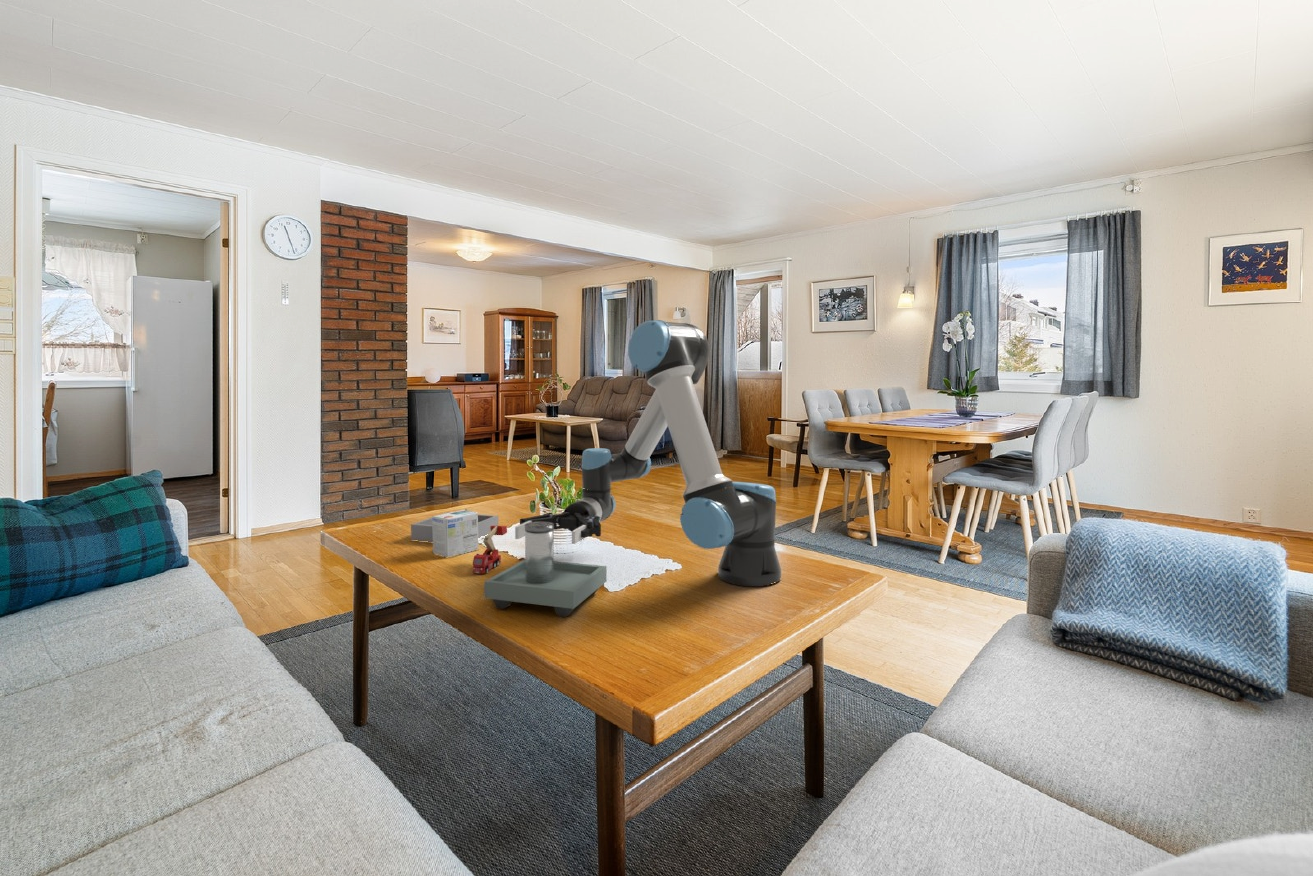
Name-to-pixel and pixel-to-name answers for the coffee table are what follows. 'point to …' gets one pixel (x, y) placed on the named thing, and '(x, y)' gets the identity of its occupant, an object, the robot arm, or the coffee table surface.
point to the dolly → (546, 586)
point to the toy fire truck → (489, 552)
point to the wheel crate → (424, 528)
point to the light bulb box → (455, 533)
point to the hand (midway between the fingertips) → (544, 535)
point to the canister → (539, 552)
